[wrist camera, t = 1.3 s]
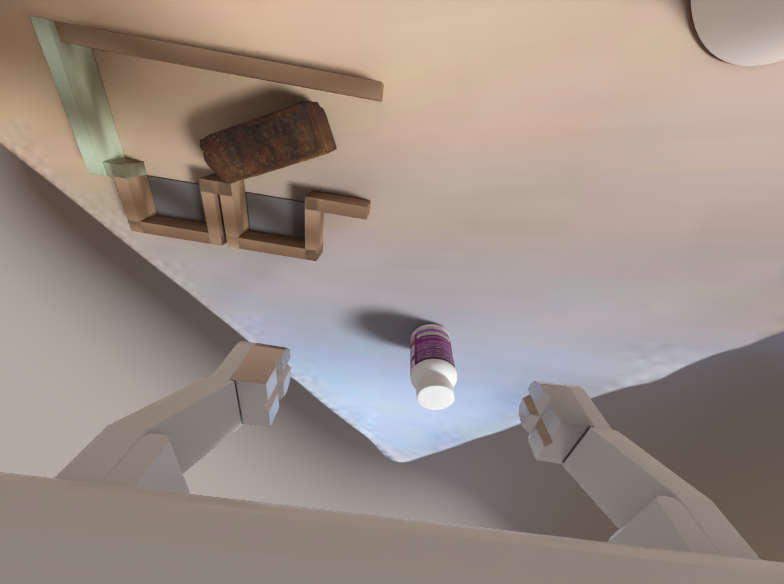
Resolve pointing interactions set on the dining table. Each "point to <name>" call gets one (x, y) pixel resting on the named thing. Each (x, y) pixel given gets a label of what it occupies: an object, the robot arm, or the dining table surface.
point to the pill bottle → (432, 366)
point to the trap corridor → (212, 195)
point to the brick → (269, 142)
